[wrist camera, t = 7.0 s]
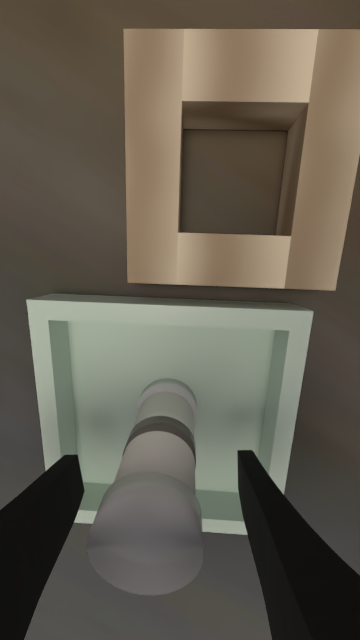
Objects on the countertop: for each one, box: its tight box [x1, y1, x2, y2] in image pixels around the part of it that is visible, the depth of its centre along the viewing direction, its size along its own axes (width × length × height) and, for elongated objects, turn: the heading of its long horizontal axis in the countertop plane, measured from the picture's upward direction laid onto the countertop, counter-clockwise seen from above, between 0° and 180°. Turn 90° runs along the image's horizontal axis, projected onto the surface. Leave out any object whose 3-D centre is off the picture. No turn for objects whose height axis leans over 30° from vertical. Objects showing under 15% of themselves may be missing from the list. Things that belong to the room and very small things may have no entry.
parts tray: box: [27, 293, 314, 535], centre depth 15 cm, size 14×14×2 cm
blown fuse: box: [86, 378, 203, 595], centre depth 11 cm, size 4×4×8 cm
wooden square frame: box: [124, 29, 360, 291], centre depth 12 cm, size 10×10×2 cm
